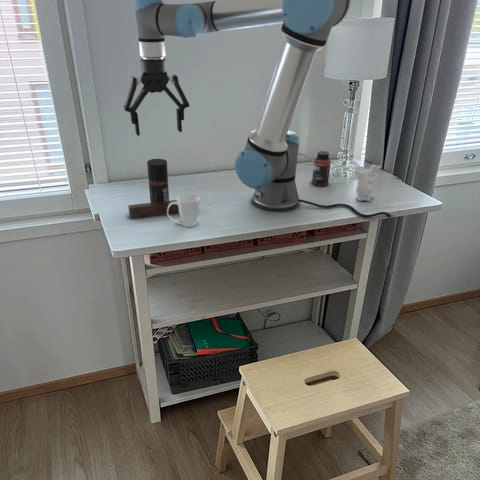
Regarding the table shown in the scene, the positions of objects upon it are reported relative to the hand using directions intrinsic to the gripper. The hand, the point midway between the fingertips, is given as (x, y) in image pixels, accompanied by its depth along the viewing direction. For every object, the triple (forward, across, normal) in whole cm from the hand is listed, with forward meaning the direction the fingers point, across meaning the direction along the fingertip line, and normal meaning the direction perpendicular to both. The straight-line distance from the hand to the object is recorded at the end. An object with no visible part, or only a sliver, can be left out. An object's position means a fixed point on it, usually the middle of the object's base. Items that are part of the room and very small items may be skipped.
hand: (159, 132), depth 155 cm
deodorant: (+20, +4, +12) cm, 24 cm away
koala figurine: (+21, -64, +25) cm, 72 cm away
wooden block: (+20, +4, +16) cm, 26 cm away
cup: (+20, 0, +26) cm, 33 cm away
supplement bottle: (+21, -57, +7) cm, 61 cm away
